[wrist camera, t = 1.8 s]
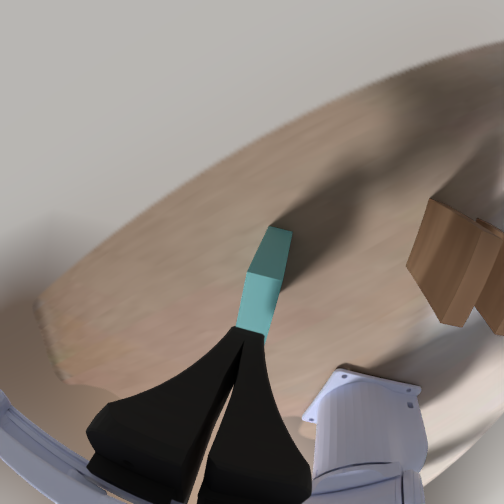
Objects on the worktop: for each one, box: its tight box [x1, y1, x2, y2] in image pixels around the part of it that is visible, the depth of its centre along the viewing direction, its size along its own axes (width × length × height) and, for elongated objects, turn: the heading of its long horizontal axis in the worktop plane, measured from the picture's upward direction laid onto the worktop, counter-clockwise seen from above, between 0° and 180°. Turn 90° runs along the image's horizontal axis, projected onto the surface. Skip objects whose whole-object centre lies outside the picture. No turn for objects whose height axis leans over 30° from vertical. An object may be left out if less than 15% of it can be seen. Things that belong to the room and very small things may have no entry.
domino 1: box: [236, 226, 293, 345], centre depth 17 cm, size 2×5×7 cm, turn 169°
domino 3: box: [474, 218, 504, 336], centre depth 13 cm, size 2×5×7 cm, turn 169°
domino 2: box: [406, 198, 503, 327], centre depth 14 cm, size 2×5×7 cm, turn 169°
